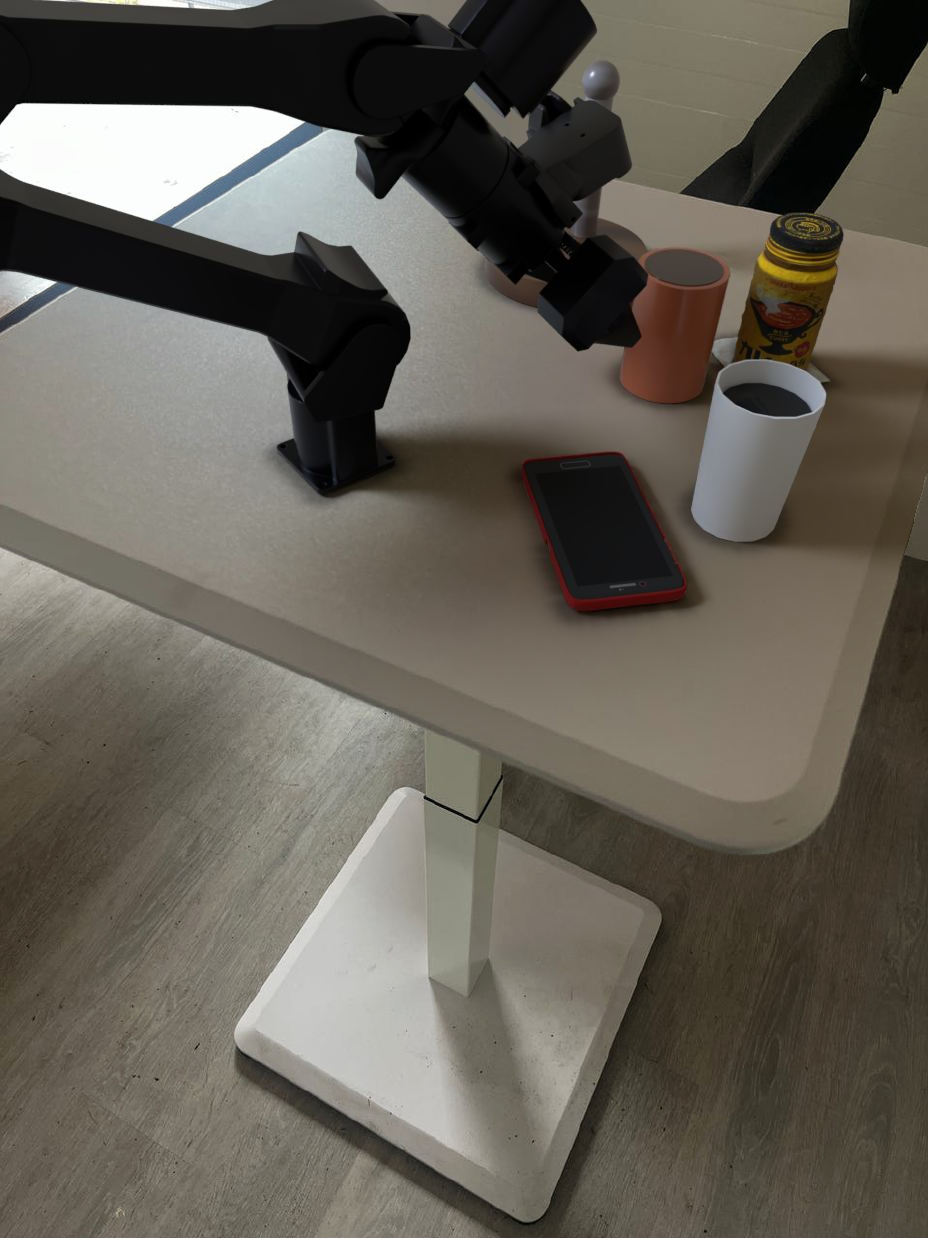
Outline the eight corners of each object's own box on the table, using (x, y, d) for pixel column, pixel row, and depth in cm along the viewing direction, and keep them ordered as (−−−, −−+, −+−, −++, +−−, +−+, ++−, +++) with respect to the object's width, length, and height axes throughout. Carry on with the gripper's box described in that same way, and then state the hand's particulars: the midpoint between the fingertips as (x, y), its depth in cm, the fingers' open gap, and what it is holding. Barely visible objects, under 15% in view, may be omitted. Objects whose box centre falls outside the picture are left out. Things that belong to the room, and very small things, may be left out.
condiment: (750, 396, 74) (791, 249, 66) (701, 343, 80) (733, 201, 71) (829, 383, 76) (880, 238, 67) (776, 332, 82) (816, 191, 73)
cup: (712, 403, 74) (740, 288, 67) (627, 403, 73) (646, 288, 66) (693, 357, 78) (718, 245, 71) (613, 358, 78) (630, 245, 71)
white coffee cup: (737, 560, 61) (777, 432, 54) (664, 506, 65) (692, 380, 57) (803, 521, 64) (849, 395, 57) (729, 472, 67) (764, 348, 60)
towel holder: (599, 328, 81) (628, 116, 69) (454, 281, 87) (457, 77, 74) (668, 263, 90) (705, 65, 78) (533, 224, 96) (547, 33, 83)
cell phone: (621, 460, 68) (623, 448, 67) (689, 601, 58) (692, 590, 57) (517, 469, 67) (518, 458, 66) (569, 615, 57) (570, 604, 56)
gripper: (647, 115, 49) (763, 280, 60) (495, 20, 61) (616, 173, 72) (503, 282, 52) (639, 409, 64) (385, 163, 64) (518, 288, 75)
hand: (603, 311), depth 69 cm, fingers open, 9 cm apart
